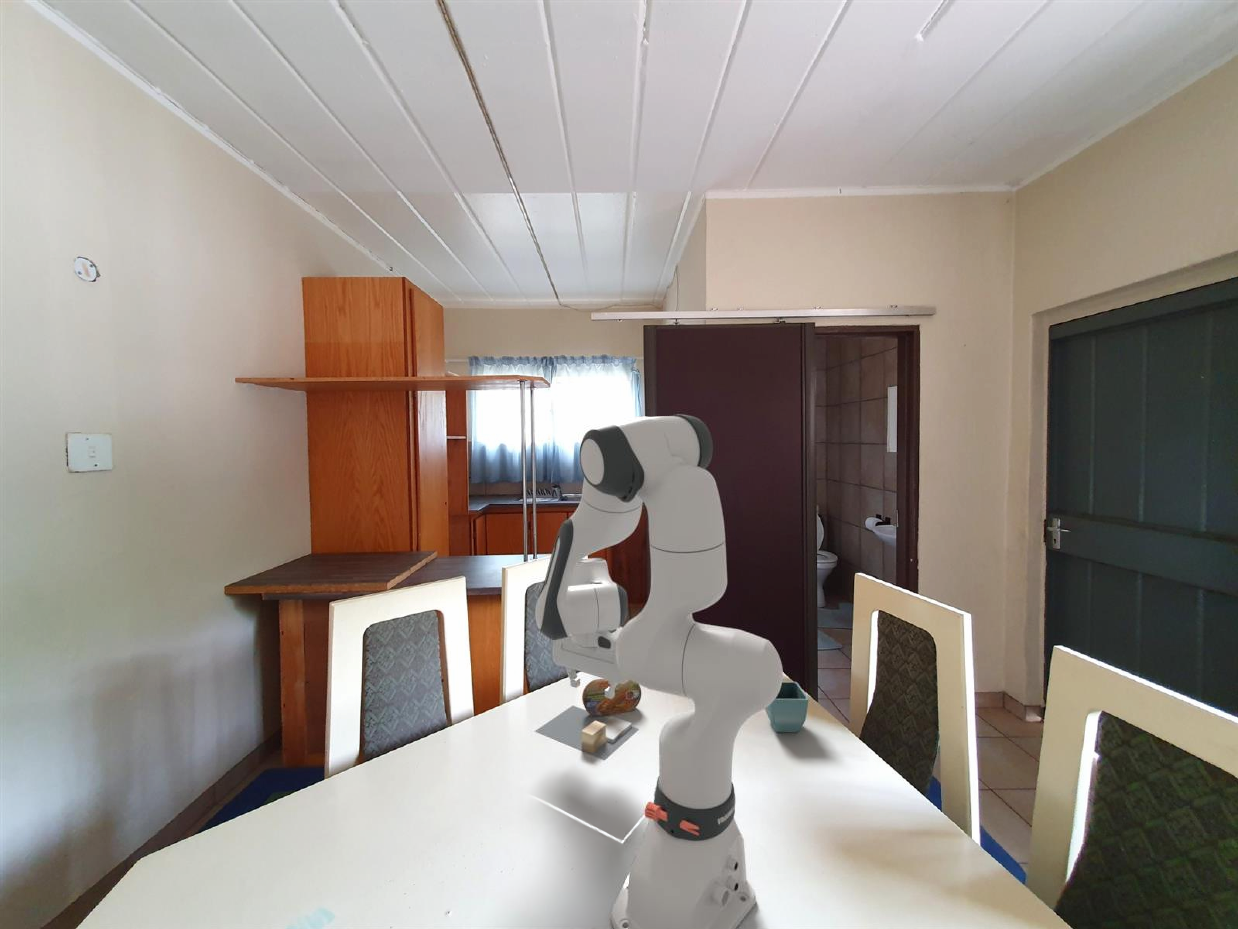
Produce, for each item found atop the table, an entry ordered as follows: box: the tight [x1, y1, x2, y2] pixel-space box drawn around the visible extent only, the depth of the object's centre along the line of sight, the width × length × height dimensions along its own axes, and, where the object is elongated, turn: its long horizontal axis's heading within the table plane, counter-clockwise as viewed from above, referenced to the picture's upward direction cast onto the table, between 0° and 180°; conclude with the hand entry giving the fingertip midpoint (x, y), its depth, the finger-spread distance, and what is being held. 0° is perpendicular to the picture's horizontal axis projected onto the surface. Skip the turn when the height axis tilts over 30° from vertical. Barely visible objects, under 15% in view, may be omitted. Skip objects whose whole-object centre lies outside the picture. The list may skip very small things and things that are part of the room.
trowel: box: [582, 715, 633, 753], centre depth 114 cm, size 14×6×4 cm, turn 146°
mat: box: [534, 705, 640, 761], centre depth 117 cm, size 14×20×1 cm
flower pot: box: [764, 681, 810, 733], centre depth 118 cm, size 9×9×9 cm
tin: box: [581, 678, 642, 717], centre depth 125 cm, size 15×3×8 cm, turn 108°
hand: (592, 691), depth 110 cm, fingers open, 8 cm apart
